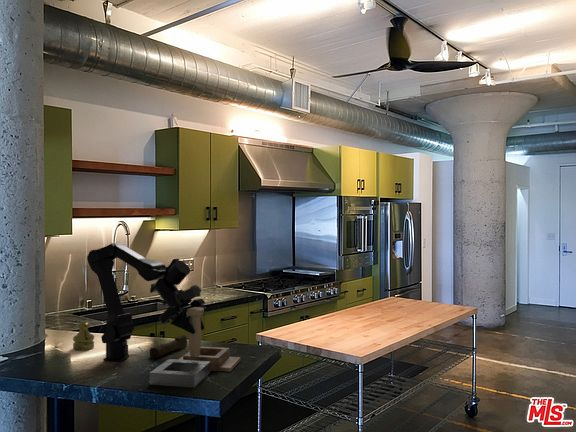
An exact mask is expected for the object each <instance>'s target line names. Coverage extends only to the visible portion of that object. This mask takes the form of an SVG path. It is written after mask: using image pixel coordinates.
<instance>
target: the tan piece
mask: <svg viewBox="0 0 576 432" xmlns="http://www.w3.org/2000/svg"><path fill="white" fill-rule="evenodd" d="M241 358H242V357H239V356H230V347H217V346H216V347H215V346H202V345H201V349H200V356H198V357H191V356H190V350H189V351H188V352H186V353H184V355H183V356H181V357H180V358H178V359H177V360H193V361H210V371H214V372H215V371H216V372H232V370H233V369H234V368H236V366H238V364H239V363H241V361H242V359H241Z"/></svg>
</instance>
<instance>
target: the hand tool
mask: <svg viewBox="0 0 576 432" xmlns="http://www.w3.org/2000/svg"><path fill="white" fill-rule="evenodd" d="M187 345H188V338H187V336H186V335H185V334H184V335H182V334H181V335H180V336H177V337H175V338H174V340H172V341H168V342H167V343H164V344H161V345H158V346H156V347H151V348H150V349H149V357H150V358H151V359H155V358H156V359H159V358H161V356H163V355H167V354H169V353H171V352H174V351H176V350H177V349H180V350H182V348H183V349H184V348H186V347H187ZM156 359H155V360H156Z"/></svg>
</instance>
